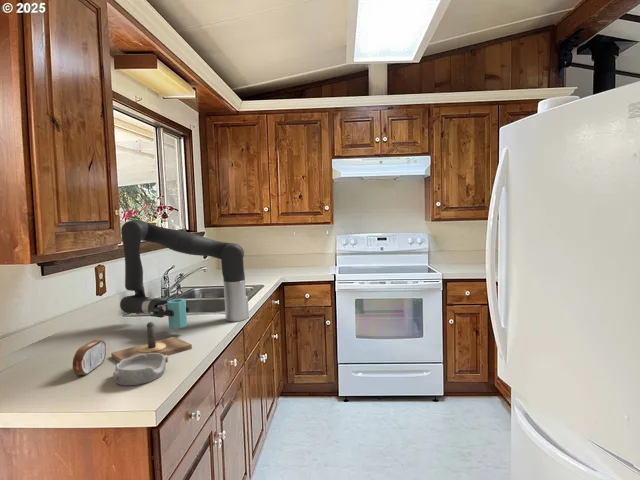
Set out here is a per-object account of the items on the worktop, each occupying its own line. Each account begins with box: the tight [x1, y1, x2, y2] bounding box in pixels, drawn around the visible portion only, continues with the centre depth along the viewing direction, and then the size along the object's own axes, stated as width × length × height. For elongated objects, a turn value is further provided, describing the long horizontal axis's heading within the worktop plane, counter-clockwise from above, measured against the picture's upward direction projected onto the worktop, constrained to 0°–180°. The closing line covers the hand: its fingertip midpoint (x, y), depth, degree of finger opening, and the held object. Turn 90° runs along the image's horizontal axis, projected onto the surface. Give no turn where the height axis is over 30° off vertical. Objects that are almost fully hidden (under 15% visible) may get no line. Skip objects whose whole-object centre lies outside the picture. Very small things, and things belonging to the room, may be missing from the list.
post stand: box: [110, 321, 193, 363], centre depth 141 cm, size 22×14×11 cm, turn 134°
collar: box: [167, 298, 188, 330], centre depth 160 cm, size 6×6×10 cm
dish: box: [112, 353, 169, 387], centre depth 121 cm, size 14×14×5 cm
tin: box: [72, 339, 107, 376], centre depth 128 cm, size 15×3×8 cm, turn 1°
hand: (180, 311), depth 158 cm, fingers closed on collar, 6 cm apart
